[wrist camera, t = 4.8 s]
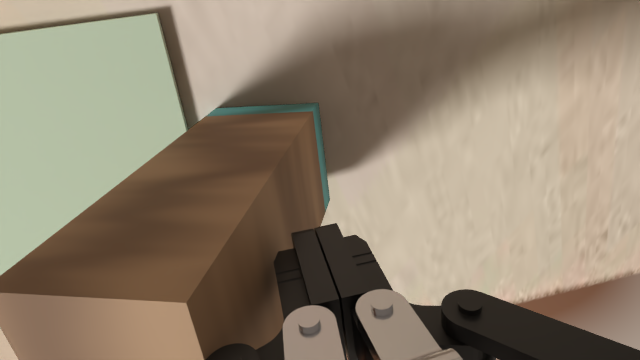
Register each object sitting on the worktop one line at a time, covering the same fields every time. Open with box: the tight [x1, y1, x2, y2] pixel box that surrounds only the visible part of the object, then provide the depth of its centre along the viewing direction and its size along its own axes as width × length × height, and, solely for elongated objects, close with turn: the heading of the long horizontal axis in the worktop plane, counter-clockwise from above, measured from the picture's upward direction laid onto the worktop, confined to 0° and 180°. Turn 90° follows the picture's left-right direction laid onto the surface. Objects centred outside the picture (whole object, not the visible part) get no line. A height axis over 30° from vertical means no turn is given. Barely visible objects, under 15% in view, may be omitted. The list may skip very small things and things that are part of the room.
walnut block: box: [0, 103, 330, 360], centre depth 16 cm, size 5×5×13 cm
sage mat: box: [0, 13, 188, 329], centre depth 21 cm, size 14×14×1 cm
